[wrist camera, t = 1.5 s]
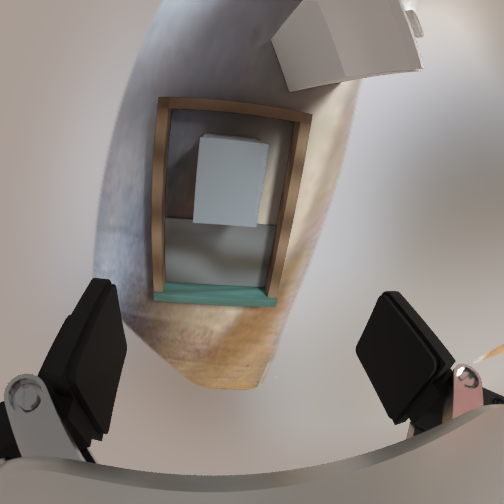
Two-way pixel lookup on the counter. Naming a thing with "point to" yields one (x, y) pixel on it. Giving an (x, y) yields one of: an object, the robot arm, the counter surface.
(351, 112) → the counter surface
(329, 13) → the milk carton
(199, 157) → the grey block
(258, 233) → the bay
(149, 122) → the counter surface
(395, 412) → the robot arm
